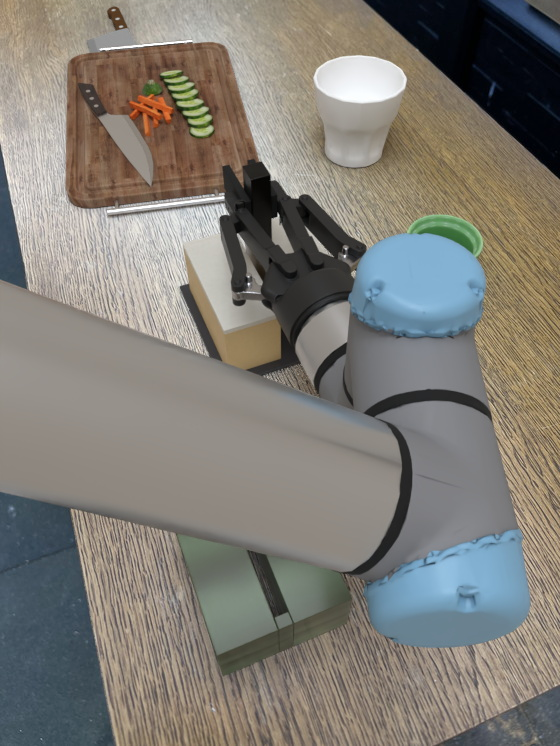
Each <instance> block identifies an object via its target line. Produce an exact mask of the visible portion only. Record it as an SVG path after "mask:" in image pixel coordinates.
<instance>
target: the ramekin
mask: <svg viewBox="0 0 560 746" xmlns="http://www.w3.org/2000/svg"><path fill="white" fill-rule="evenodd" d="M406 233H409V234H413V233H416V234H424V233H428V234H434V235H439V236H442V237H445V238H448V239H450V240H452V241H454V242H456V243H458V244H460V245H461V246H463V247H465V248H466V249H467V250H468V251H470V252H471V253H472V254H473V255H474V256H475V257H476V259H477V260H478V258H479V257H480V255H481V253H482V252H483V249H484V238H483V236H482V234H481V232H480V231H479V230H478V228H477V227H476V226H475V225H473V224H472V223H471V222H469V221H467V220H465V219H463V218H461V217H458V216H455V215H450V214H442V213H441V214H440V213H439V214H428V215H425V216H421V217H419V218H418V219H416V220H414V221H413V222H412V223H411V224H410V225H409V226H408V228H407V231H406Z"/></svg>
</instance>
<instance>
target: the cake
mask: <svg viewBox="0 0 560 746" xmlns="http://www.w3.org/2000/svg"><path fill="white" fill-rule="evenodd" d="M306 229H307V228H306ZM307 231H308V234H309V236H312V237H313V239H314V241H315V243H316V245H317V248H318V250H319V251H320V252H322V253H324V254H327V255H329V254H328V252H327V250H326V249H325V247H324V246H323V245H322V244H321V243H320V242H319V241H318V240H317V238H316V237H315V236H314V235H313V234H312V233H311V232H310V231H309V230H308V229H307ZM238 239H239V237H238ZM272 241H273V242H274V244H275V245H277V244H278V245H279V246H280V247H281V248H282V250H283V251H284V252H285V253H286V254H287V253H293V252H294V251H293V249H292V246H291V244H290V242H289V240H288V237H287V235H286V233H285V231H284V228H283V226H282V224H281V225H279V217H276V218H272ZM239 242H240V246H241V249H242V252H243V255H244V258H245V261H246V266H247V273H251V274H252V277H254V278H255V281H256V283H257V284H258V285H261V286H262V283H263V281H262V280H261V278H260V276H259V274H258V272H257V271H256V269H255V267H254V265H253V263H252V262H251V260H250V258H249V256H248V254H247V253H246V248H245V247H244V245H243V244H242V242H241V240H240V239H239ZM182 249H183V256H184V262H185V267H186V274H187V280H188V283H186V284H183V285H179V290H180V292H181V294H182V297H183V299H184V302H185V304H186V307H187V309H188V311H189V313H190V316H191V317H192V318H191V319H193V322H194V324H195V326H196V329H197V332H198V333H199V336H200V338H201V340H202V343H203V345H204V348H205V350H206V352H207V354H208V357H211V358H214V359H217V360H219V361H222V362H225V363H227V364H230V365H233V366H236V367H238V368H241V369H244V370H246V371H249V372H252V373H255V374H257V375H260V376H265V375H268V374H271V373H274V372H278V371H281V370H283V369H286V368H290V367H292V366H296V365H299V364H301V362H300V360H299V358H298V356H297V354H296V351H295V350H294V349H293V348H292V346H291V344H290V343H289V341H288V339H287V337H286V335H285V333H284V331H283V330H282V328H281V326H280V324H279V322H278V320H277V318H276V316H275V314H274V313H273V312H272V311H271V310H270V309H268V308H266V307H265V306H264V305H263V304H262V302H261V301H256V300H246V303H245V304H244V305H243V306H235V305H234V304H233V301H232V291H231V278H232V275H231V271H230V268H229V265H228V261H227V258H226V254H225V251H224V247H223V244H222V241H221V233H220V232H219V233H215V234H211V235H207V236H204V237H199V238H196V239H193V240H189V241H184V242H182Z"/></svg>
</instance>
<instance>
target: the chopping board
mask: <svg viewBox="0 0 560 746" xmlns="http://www.w3.org/2000/svg"><path fill="white" fill-rule="evenodd" d="M99 50H100V52H95V53H90V52H87V53H81V54H78V55H75V56H73V57H71V59H69V61H68V62H67V67H66V68H67V69H66V71H67V72H66V73H67V74H66V122H65V124H66V125H65V126H66V127H65V131H66V132H65V134H66V135H65V136H66V137H65V179H64V181H65V183H64V184H65V185H64V188H65V191H66V194H67V198H68V200H69V202H70V203H71V204H72V205H74V206H75V207H78V208H83V209H96V208H103V207H104V208H105V207H112V206H113V207H114V208H113V207H112V208H106V210H105V211H106V215H107V216H112V215H113V216H114V215H122V214H129V213H130V214H131V213H137V212H147V211H154V210H163V209H170V208H179V207H187V206H194V205H195V206H196V205H202V204H204V205H205V204H210V203H219V202H225V199H224V194H220V193H226V191H225V189H224V181H223V169H222V166H225V165H230V167H231V168H232V170H233V172H234V173H235V175H236V177H237V178H238V180H239V182H240V183H241V185H242V187H243V188H244V183H243V167H242V166H244V165H247V160H250V159H255V161H256V162H260V157H259V155H258V152H257V149H256V144H255V141H254V137H253V134H252V130H251V127H250V123H249V121H248V116H247V113H246V110H245V106H244V102H243V99H242V96H241V93H240V89H239V85H238V81H237V78H236V75H235V72H234V69H233V65H232V61H231V58H230V54H229V51H228V48H227V47H226V46H225V45H224V44H221V43H220V42H216V41H215V42H214V41H203V42H202V41H201V42H194V41H193V39H192V38H191V39H190V38H189V39H180V40H169V41H159V42H148V43H137V44H136V45H125V46H114V47H103V48H99ZM212 194H214V195H212ZM203 195H204V196H203ZM205 195H211V196H205ZM195 196H203V197H195ZM186 197H187V198H186ZM188 197H195V198H188ZM178 198H186V199H178ZM170 199H171V201H162V202H154V203H145V202H153V201H161V200H170ZM172 199H177V200H172ZM136 203H145V204H138V205H137V204H136ZM129 204H136V205H129ZM121 205H129V206H121Z"/></svg>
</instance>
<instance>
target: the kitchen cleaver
mask: <svg viewBox="0 0 560 746" xmlns="http://www.w3.org/2000/svg"><path fill="white" fill-rule="evenodd" d="M106 13H107V17H108V18H110V19H111V22H112V24H113V27H114V30H113V31H110V32H107V33H104V34H102V35H99V36H96V37H93V38H89V39H87V40H86V44H87V48H88V50H89V53H95V52H100V50H99V48H103V47H114V46H125V45H136V44H138V42H137V41H136V40H135V39H134V37H133V35H132V33H131V32H130V30H129V26H128V25H127V22H126V21H125V19H124V18H125V17H124V16H123V13H122V12H121V9H120V8H119V7H118V6H115V5H114V6H111V7H109V8H108V9H107V10H106Z"/></svg>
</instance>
